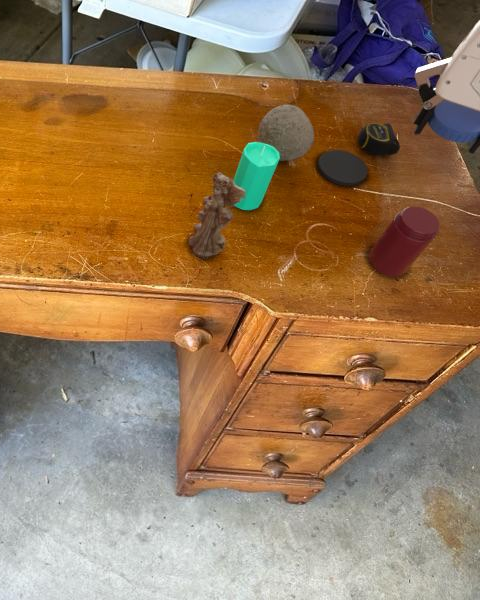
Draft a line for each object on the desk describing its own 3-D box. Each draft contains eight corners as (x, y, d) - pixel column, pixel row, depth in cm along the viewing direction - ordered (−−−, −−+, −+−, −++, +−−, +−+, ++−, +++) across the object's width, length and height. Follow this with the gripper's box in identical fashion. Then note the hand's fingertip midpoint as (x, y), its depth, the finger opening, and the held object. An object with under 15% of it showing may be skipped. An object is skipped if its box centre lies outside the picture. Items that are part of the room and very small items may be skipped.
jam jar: (409, 254, 97) (444, 212, 88) (405, 281, 93) (440, 241, 85) (371, 241, 98) (401, 199, 89) (365, 268, 95) (396, 226, 86)
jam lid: (422, 108, 81) (428, 98, 80) (471, 113, 81) (478, 103, 79) (433, 140, 77) (440, 130, 76) (485, 145, 77) (492, 135, 76)
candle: (221, 196, 103) (238, 144, 93) (243, 181, 105) (262, 129, 95) (246, 215, 101) (267, 164, 91) (268, 200, 103) (290, 148, 93)
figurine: (176, 237, 97) (193, 172, 85) (203, 223, 99) (224, 157, 87) (204, 266, 94) (226, 202, 81) (231, 251, 96) (257, 187, 83)
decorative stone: (242, 146, 111) (256, 102, 103) (275, 132, 113) (292, 89, 105) (276, 179, 106) (295, 136, 98) (310, 164, 108) (331, 121, 100)
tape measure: (394, 160, 110) (404, 145, 107) (359, 158, 110) (367, 143, 107) (385, 136, 114) (394, 121, 111) (351, 134, 114) (359, 119, 110)
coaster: (371, 163, 109) (372, 160, 108) (358, 192, 105) (360, 189, 104) (325, 146, 111) (326, 143, 111) (311, 174, 107) (312, 171, 106)
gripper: (448, 8, 66) (377, 131, 81) (612, 55, 62) (505, 176, 77) (458, -20, 70) (388, 103, 85) (614, 23, 66) (512, 144, 80)
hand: (445, 137), depth 81 cm, fingers closed on jam lid, 6 cm apart
